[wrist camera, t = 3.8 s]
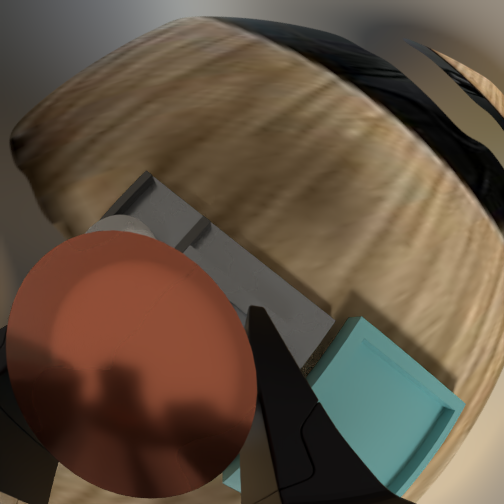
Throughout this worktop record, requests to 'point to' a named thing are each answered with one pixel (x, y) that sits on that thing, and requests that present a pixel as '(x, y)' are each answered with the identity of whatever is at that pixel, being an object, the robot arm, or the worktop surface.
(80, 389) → the pin
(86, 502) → the worktop surface
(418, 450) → the tray
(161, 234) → the block
